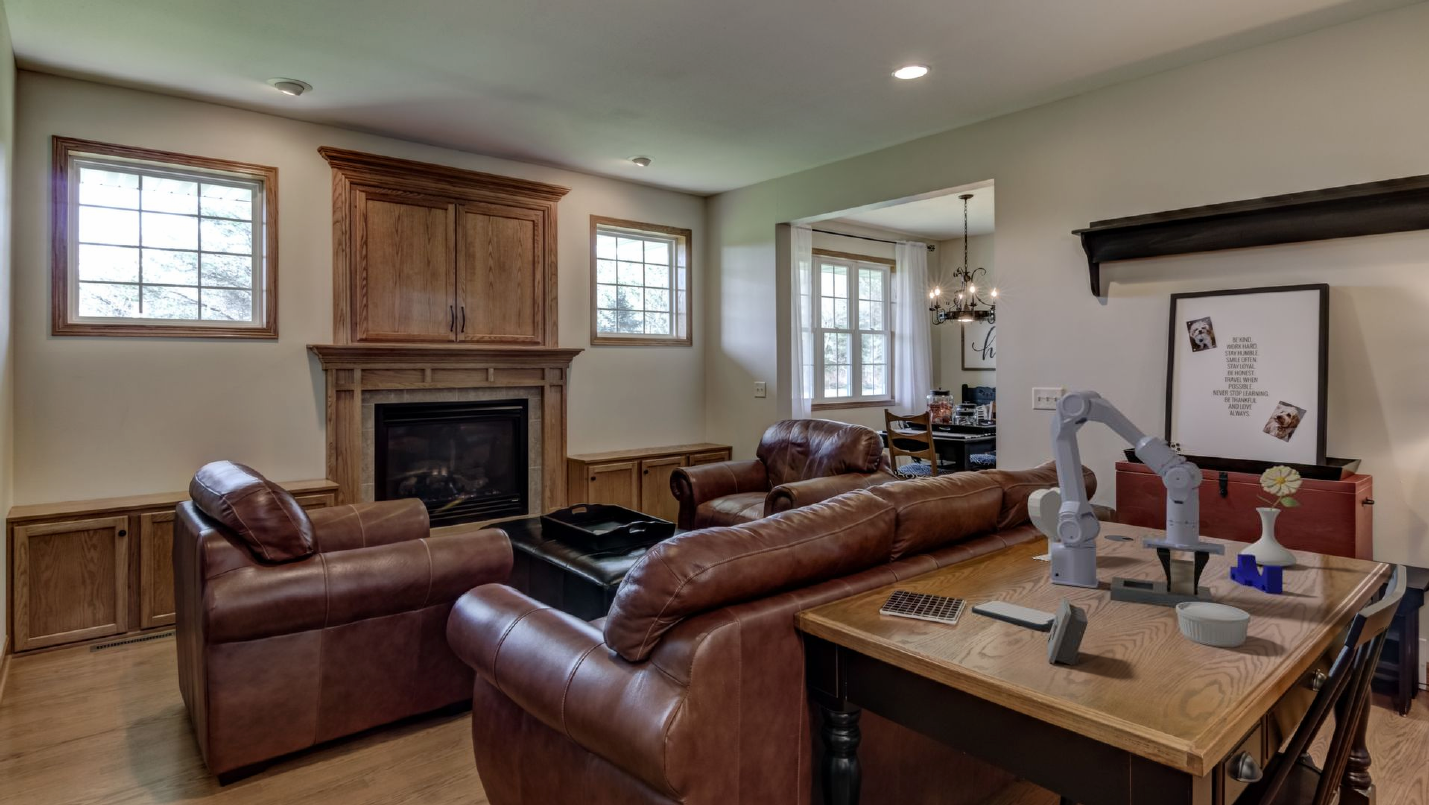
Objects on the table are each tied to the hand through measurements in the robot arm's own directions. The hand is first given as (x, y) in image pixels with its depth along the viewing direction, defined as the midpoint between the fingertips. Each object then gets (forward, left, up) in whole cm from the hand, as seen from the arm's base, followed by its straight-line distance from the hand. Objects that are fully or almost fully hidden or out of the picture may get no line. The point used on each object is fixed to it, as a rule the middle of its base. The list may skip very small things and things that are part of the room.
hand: (1182, 585), depth 156 cm
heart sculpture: (-28, +30, -4) cm, 41 cm away
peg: (0, 0, -3) cm, 3 cm away
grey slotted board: (-4, 0, -3) cm, 5 cm away
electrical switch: (-18, -45, -4) cm, 49 cm away
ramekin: (+4, -23, -4) cm, 24 cm away
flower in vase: (+20, +46, -4) cm, 50 cm away
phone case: (-28, -27, -4) cm, 39 cm away
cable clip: (+14, +21, -4) cm, 26 cm away
